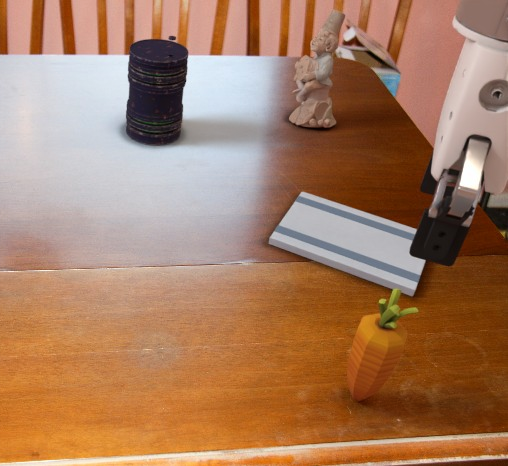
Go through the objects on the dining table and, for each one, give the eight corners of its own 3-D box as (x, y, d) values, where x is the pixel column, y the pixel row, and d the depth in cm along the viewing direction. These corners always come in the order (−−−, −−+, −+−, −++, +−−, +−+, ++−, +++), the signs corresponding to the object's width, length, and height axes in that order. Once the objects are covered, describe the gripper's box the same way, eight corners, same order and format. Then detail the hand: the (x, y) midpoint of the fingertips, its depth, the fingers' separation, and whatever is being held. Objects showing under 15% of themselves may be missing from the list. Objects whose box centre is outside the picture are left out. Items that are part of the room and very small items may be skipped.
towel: (431, 241, 94) (434, 234, 94) (412, 297, 84) (415, 289, 84) (300, 197, 101) (302, 190, 101) (268, 244, 91) (269, 236, 91)
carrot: (351, 374, 73) (389, 273, 64) (388, 403, 70) (434, 301, 61) (323, 395, 70) (358, 292, 61) (361, 426, 68) (404, 323, 58)
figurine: (321, 109, 127) (345, 5, 115) (341, 130, 120) (369, 22, 108) (278, 112, 125) (299, 6, 112) (297, 133, 118) (321, 24, 106)
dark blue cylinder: (113, 128, 115) (116, 27, 104) (155, 113, 121) (162, 16, 110) (150, 151, 109) (158, 47, 99) (192, 135, 115) (204, 35, 104)
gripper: (600, 72, 35) (482, 306, 45) (571, -12, 48) (484, 185, 58) (453, 43, 37) (372, 273, 47) (463, -30, 50) (398, 163, 60)
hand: (434, 224), depth 53 cm, fingers open, 9 cm apart
